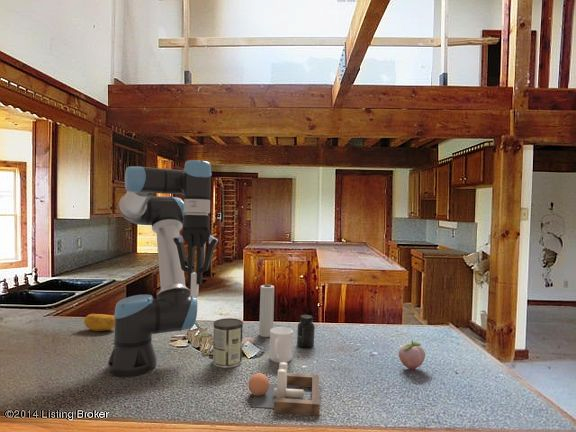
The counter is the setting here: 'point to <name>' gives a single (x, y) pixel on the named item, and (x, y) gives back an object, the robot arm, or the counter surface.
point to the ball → (258, 384)
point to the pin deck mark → (268, 397)
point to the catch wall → (298, 404)
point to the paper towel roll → (266, 310)
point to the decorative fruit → (411, 355)
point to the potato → (99, 322)
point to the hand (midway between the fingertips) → (194, 295)
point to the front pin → (291, 393)
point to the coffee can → (227, 342)
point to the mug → (281, 344)
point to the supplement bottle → (305, 332)
